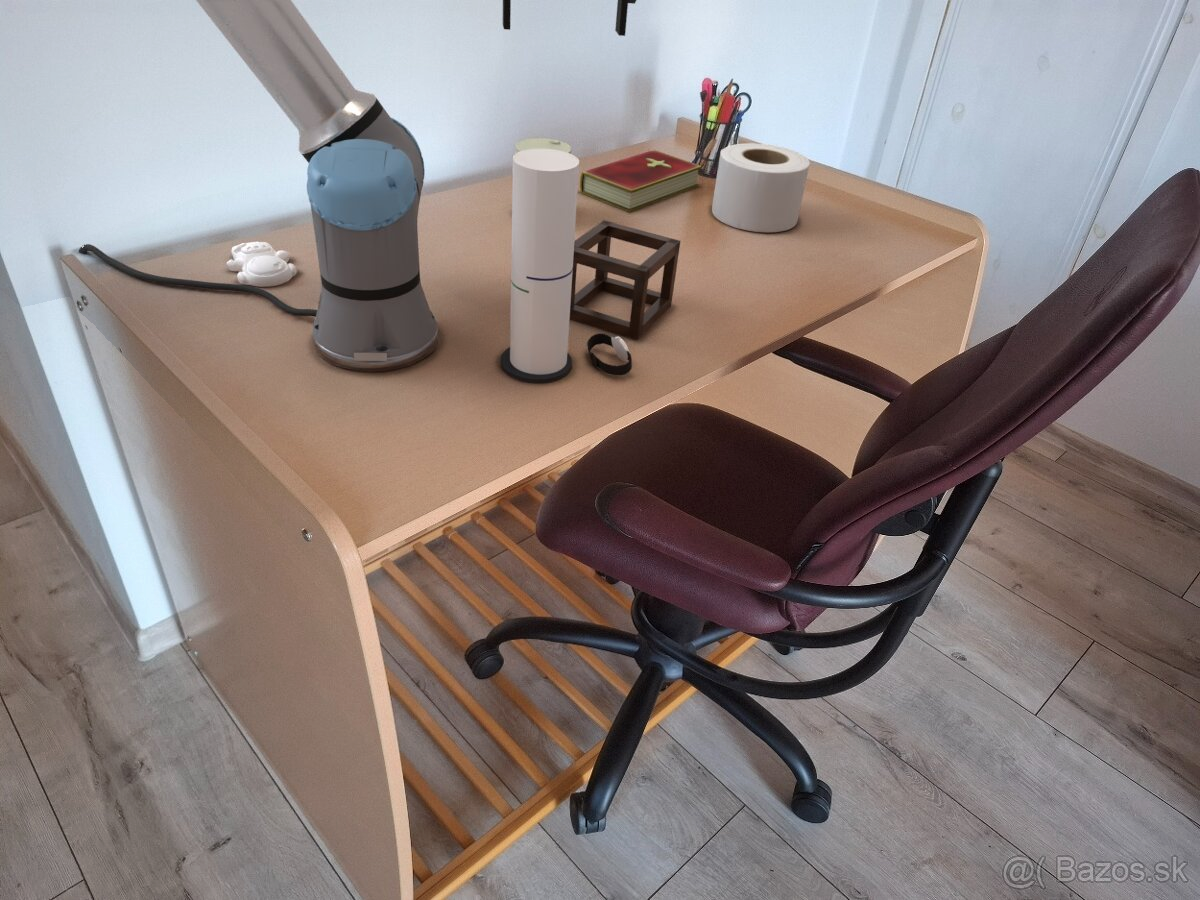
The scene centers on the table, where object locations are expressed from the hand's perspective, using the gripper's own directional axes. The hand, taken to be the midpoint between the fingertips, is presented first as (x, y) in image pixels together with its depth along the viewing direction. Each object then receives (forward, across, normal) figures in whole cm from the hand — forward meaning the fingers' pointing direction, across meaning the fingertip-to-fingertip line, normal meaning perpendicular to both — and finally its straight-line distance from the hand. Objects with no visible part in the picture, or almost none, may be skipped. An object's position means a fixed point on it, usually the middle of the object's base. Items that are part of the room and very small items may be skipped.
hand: (563, 30), depth 99 cm
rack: (+35, -9, +5) cm, 36 cm away
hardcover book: (+35, -21, -43) cm, 59 cm away
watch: (+35, -5, +19) cm, 40 cm away
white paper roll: (+35, -40, -31) cm, 61 cm away
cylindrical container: (+34, +4, +19) cm, 39 cm away
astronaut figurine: (+35, +41, -8) cm, 54 cm away
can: (+35, -1, -30) cm, 46 cm away
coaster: (+35, +4, +19) cm, 40 cm away
